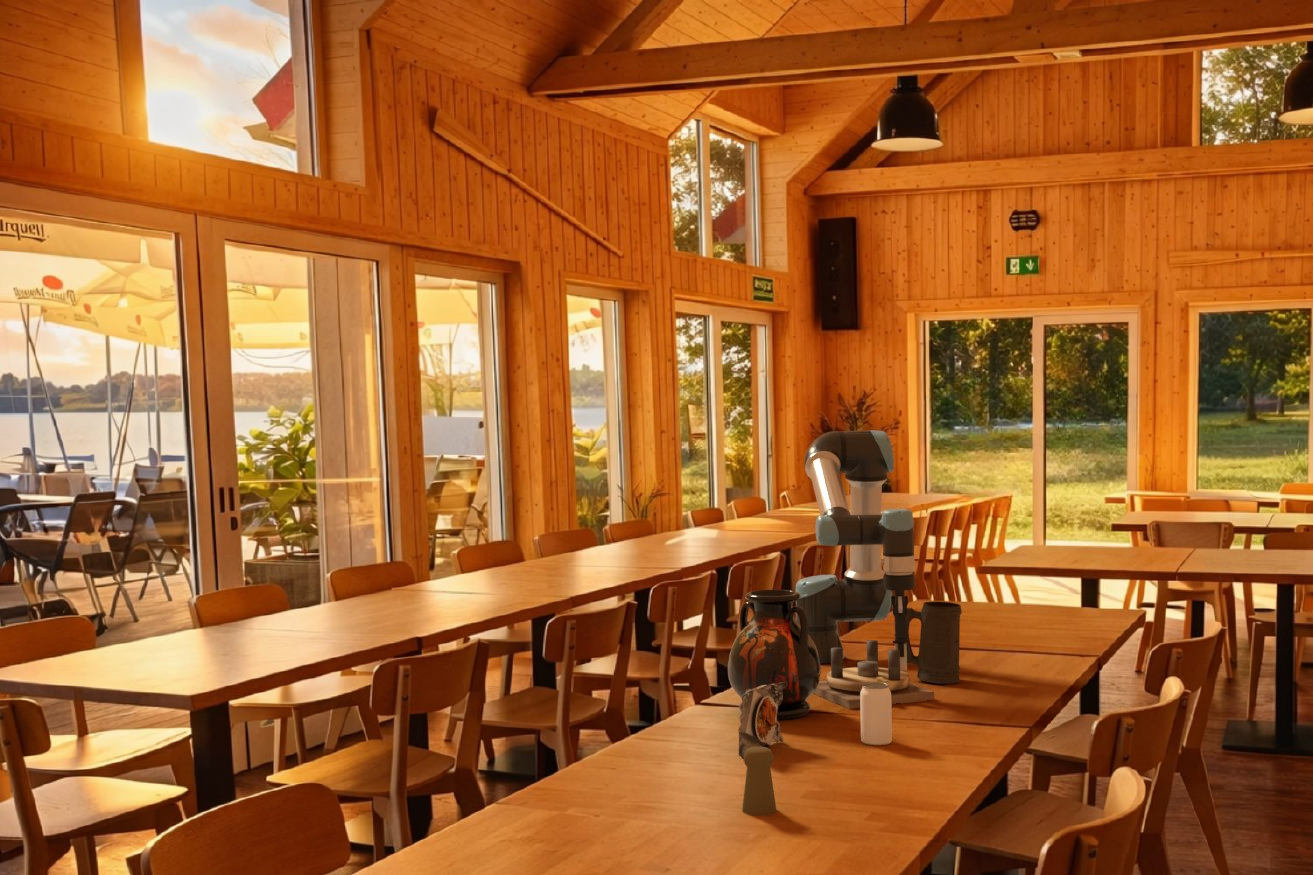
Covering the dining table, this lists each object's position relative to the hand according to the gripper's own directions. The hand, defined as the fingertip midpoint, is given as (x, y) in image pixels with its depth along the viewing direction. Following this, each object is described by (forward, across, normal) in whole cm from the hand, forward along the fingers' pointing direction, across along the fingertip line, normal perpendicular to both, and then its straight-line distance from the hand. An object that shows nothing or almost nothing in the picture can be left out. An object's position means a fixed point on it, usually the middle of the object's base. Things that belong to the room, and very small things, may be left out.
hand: (901, 669), depth 315 cm
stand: (+7, -2, -8) cm, 11 cm away
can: (+7, +45, -7) cm, 46 cm away
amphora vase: (+7, +20, -30) cm, 36 cm away
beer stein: (+7, -20, +8) cm, 22 cm away
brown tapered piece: (+6, +94, -27) cm, 98 cm away
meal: (+6, +53, -30) cm, 61 cm away
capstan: (+4, -1, -8) cm, 9 cm away
